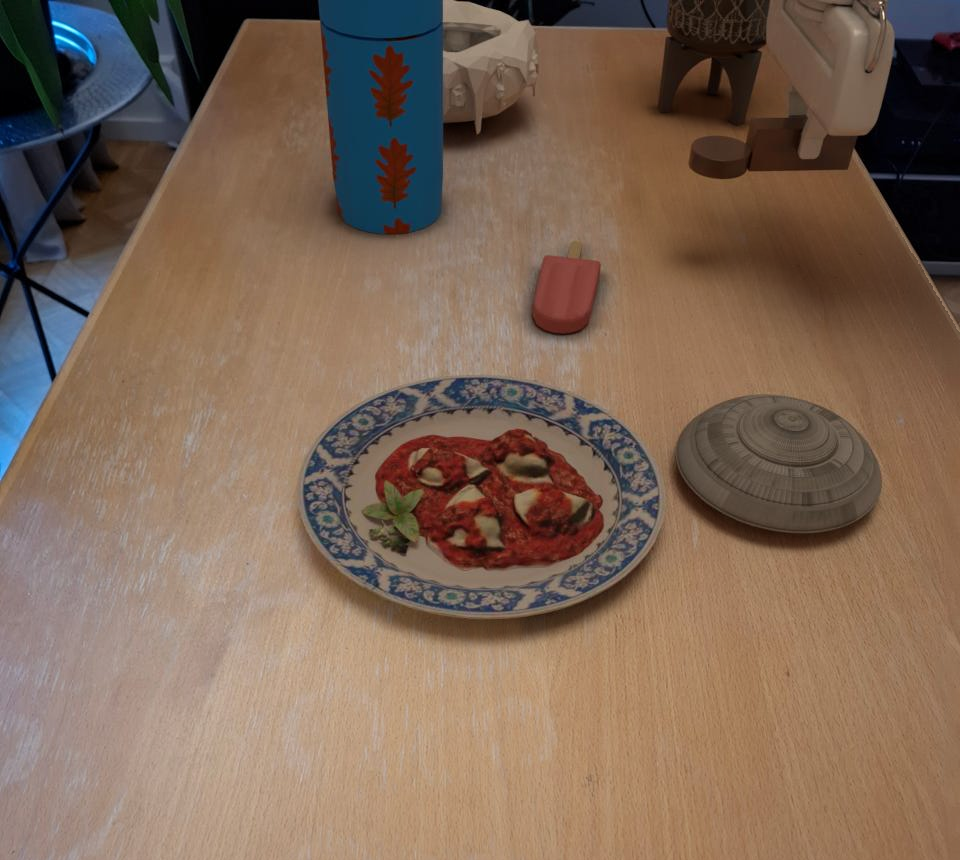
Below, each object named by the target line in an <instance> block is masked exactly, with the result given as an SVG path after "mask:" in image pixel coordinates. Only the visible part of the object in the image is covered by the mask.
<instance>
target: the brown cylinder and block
mask: <svg viewBox="0 0 960 860" xmlns="http://www.w3.org/2000/svg"><path fill="white" fill-rule="evenodd" d="M807 120H808V117H798V118H786V117H751V118H750V121H749V124H748V125H749V126H748V131H747V135H746V139H745V141H742V140H740V139H738V138H735V137H732V136H731V137H730V136H725V135H706V136H702V137H698V138H696V139H695V140H693V141H692V143H691V146H690V150H689V158H688V163H687V164H688V167H689V169H690V170H691V171H692V172H694V173H695V174H697V175H699V176H702V177H705V178H708V179H714V180H731V179H737V178H739V177H742V176H744V174H746V172H747V171H748V172H792V171H793V172H797V171H799V172H802V171H803V172H804V171H805V172H807V171H848V170H849V166H850V165H851V160H852V156H853V153H854V149H855V146H856V143H857V140H858V137H859V135H857V136H832V135H829V134H828V133H827V135H826V136H825V138H824V139H823V143H822V147H821V150H820V154H819V156H818V157H817V158H815V159H801V158H800V157H799V155H798V154H797V152H796V150H795V145H796V143H797V137H798V133H799V131H803V129H804V127H805V125H806V122H807Z"/></svg>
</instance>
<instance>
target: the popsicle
mask: <svg viewBox="0 0 960 860" xmlns="http://www.w3.org/2000/svg"><path fill="white" fill-rule="evenodd" d="M582 249H583V243H582V242H581V241H577V240H575V241H574V240H573V241H571V242H570V245H569V248H568V253H567V256H559V255H551V254H546V255H544V257H543V259H542V262H541V267H540V271H539V274H538V279H537V282H536V283H537V284H536V288H535V292H534V298H533V303H532V312H531V313H532V314H531V315H532V317H533V319H534V322H535V325H537V326H538V327H539V328H541V329H542V330H543V331H547V332H550V333H554V334H572V333H575V332H579V331H581V330H582V329H583V328H585V326H586V325H587V324H588V323H589V322H590V317H591V314H592V310H593V305H594V303H595V299H596V294H597V289H598V285H599V281H600V274H601V268H602V267H601V266H602V264H601V261H599V260H595V259H594V260H593V259H584V258H583V259H582V258H581V253H582Z"/></svg>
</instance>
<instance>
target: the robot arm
mask: <svg viewBox="0 0 960 860" xmlns="http://www.w3.org/2000/svg"><path fill="white" fill-rule="evenodd" d="M888 1H889V0H770V3H769V10H768V17H767V24H766V45H765V46H766V49H767V51H768V53H770V55H771V56H772V58H773V59H774V61H775V63H777V65H778V66H779V68H780V69H781V71H782V73H784V74H785V76H786V77H787V79H788V80H787V83H786V91H785V92H786V97H785V99H786V101H785V102H786V104H785V105H786V107H785V109H786V110H785V112H786V115H785V118H798V117H808V120H807V122H806V125H805V127H804V129H803V131H799V133H798V137H797V143H796V145H795V150H796V152H797V154H798V155H799V157H800V158H801V159H815V158H817V157H818V156H819V154H820V150H821V147H822V143H823V139H824V138H825V136H826V135H827V133H828V134H829V135H832V136H857V135H858V136H865V135H867V134H869V133H870V132H871V131H872V130H873V129H874V127H875V125H876V123H877V121H878V118H879V115H880V111H881V108H882V103H883V100H884V97H885V92H886V89H887V84H888V79H889V75H890V70H891V66H892V61H893V55H894V49H895V39H896V38H895V31H894V30H895V29H894V27H893V25H892V23H891V22H890V21H889V20H888V18H887V11H888ZM858 136H857V137H858Z"/></svg>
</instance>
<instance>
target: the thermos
mask: <svg viewBox="0 0 960 860" xmlns="http://www.w3.org/2000/svg"><path fill="white" fill-rule="evenodd" d="M317 1H318V15H319V20H320V21H319V26H320V37H321V49H322V60H323V74H324V83H325V84H324V85H325V97H326V109H327V122H328V133H329V134H328V135H329V145H330V146H329V147H330V155H331V169H332V178H333V186H334V194H335V200H336V206H337V214H338V216H339V217H340V218H341V220H342V221H343V222H344V223H346V224H348V225H349V226H351V227H352V228H355V229H357V230H359V231H364V232H367V233H371V234H381V235H399V234H408V233H412V232H416V231H419V230H422V229H425V228H427V227H428V226H430V225H432V224H434V223H435V222H436V221H437V220H438V218H439V217H440V215H441V214H442V203H443V202H442V201H443V184H444V183H443V182H444V123H443V0H317Z"/></svg>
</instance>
